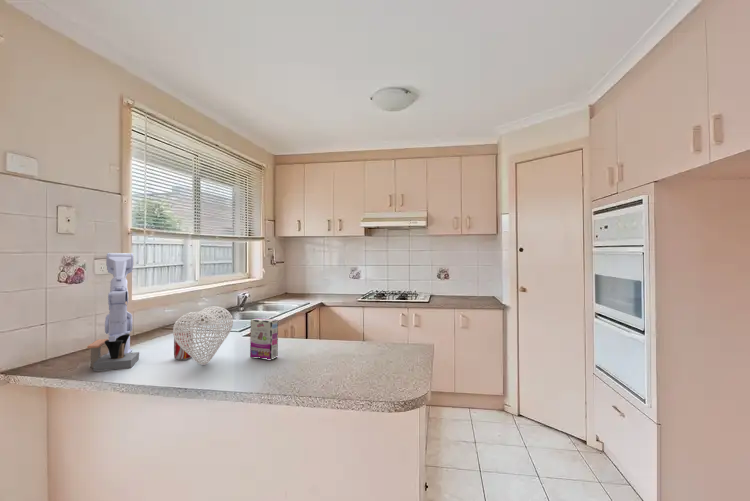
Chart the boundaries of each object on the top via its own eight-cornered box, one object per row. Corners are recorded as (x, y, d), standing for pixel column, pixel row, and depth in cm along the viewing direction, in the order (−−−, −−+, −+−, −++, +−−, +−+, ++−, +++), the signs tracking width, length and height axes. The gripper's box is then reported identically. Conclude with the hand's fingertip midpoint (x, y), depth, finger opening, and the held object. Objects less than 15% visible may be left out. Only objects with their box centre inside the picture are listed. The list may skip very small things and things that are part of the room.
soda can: (184, 361, 151) (185, 332, 151) (169, 360, 153) (170, 331, 153) (196, 356, 158) (196, 328, 158) (181, 355, 160) (182, 327, 160)
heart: (203, 354, 162) (204, 303, 162) (238, 355, 161) (239, 304, 161) (163, 375, 134) (164, 314, 134) (204, 377, 133) (205, 315, 133)
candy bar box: (278, 357, 158) (278, 319, 158) (270, 361, 154) (271, 321, 154) (257, 354, 163) (257, 317, 163) (249, 357, 158) (250, 319, 158)
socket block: (97, 362, 148) (97, 339, 148) (138, 359, 153) (139, 336, 153) (85, 371, 137) (86, 346, 137) (130, 368, 142) (131, 343, 142)
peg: (114, 364, 147) (114, 343, 147) (123, 363, 148) (124, 343, 148) (111, 366, 144) (112, 345, 144) (121, 365, 145) (121, 345, 145)
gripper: (124, 324, 140) (124, 359, 140) (134, 317, 154) (134, 350, 154) (102, 325, 138) (101, 361, 138) (114, 318, 152) (114, 351, 151)
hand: (117, 355), depth 146 cm, fingers open, 7 cm apart
